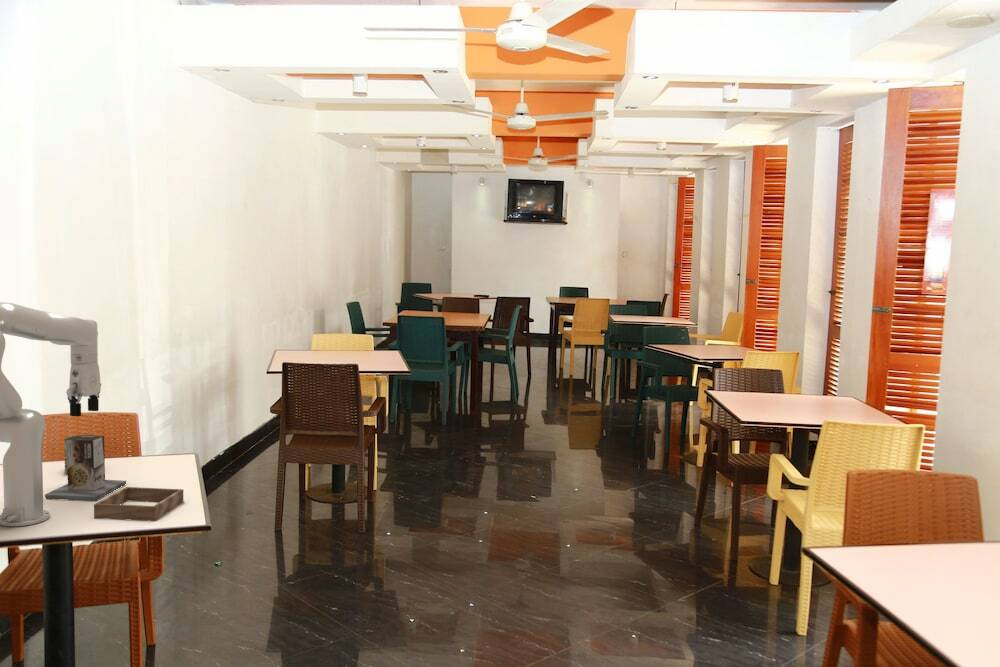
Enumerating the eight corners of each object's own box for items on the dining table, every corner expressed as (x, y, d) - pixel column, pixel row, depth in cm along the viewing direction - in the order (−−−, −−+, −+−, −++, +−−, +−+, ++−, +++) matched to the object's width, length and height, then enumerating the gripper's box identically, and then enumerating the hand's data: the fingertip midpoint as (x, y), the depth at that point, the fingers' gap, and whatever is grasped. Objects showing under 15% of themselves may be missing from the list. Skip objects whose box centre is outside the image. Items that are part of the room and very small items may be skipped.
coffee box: (106, 485, 258) (105, 435, 256) (94, 491, 251) (93, 440, 250) (78, 483, 258) (77, 434, 257) (66, 489, 252) (65, 438, 250)
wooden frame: (155, 520, 229) (155, 507, 229) (94, 518, 230) (93, 504, 230) (183, 502, 247) (183, 489, 247) (126, 499, 248) (126, 486, 248)
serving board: (95, 501, 246) (95, 496, 246) (45, 499, 247) (44, 494, 246) (126, 485, 264) (126, 480, 263) (78, 483, 264) (78, 478, 264)
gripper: (80, 362, 242) (80, 418, 244) (110, 356, 260) (110, 409, 261) (55, 361, 243) (56, 417, 244) (88, 356, 260) (88, 408, 261)
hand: (84, 413), depth 252 cm, fingers open, 9 cm apart
